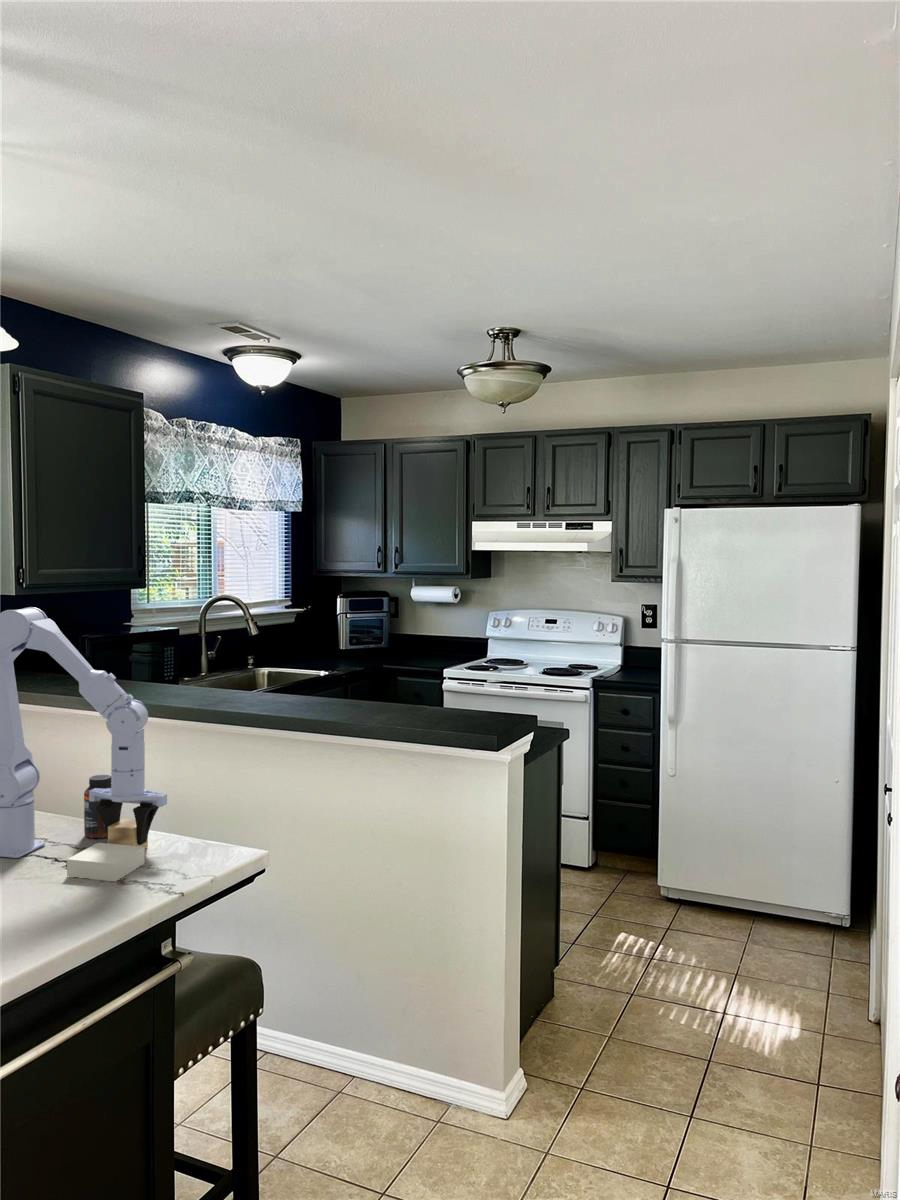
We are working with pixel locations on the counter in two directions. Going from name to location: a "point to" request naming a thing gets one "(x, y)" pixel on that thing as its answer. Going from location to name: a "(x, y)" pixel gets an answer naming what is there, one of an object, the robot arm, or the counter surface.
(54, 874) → the counter surface
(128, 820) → the oak block
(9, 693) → the robot arm
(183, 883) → the counter surface
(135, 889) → the counter surface
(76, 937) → the counter surface
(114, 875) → the base block
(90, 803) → the supplement bottle
